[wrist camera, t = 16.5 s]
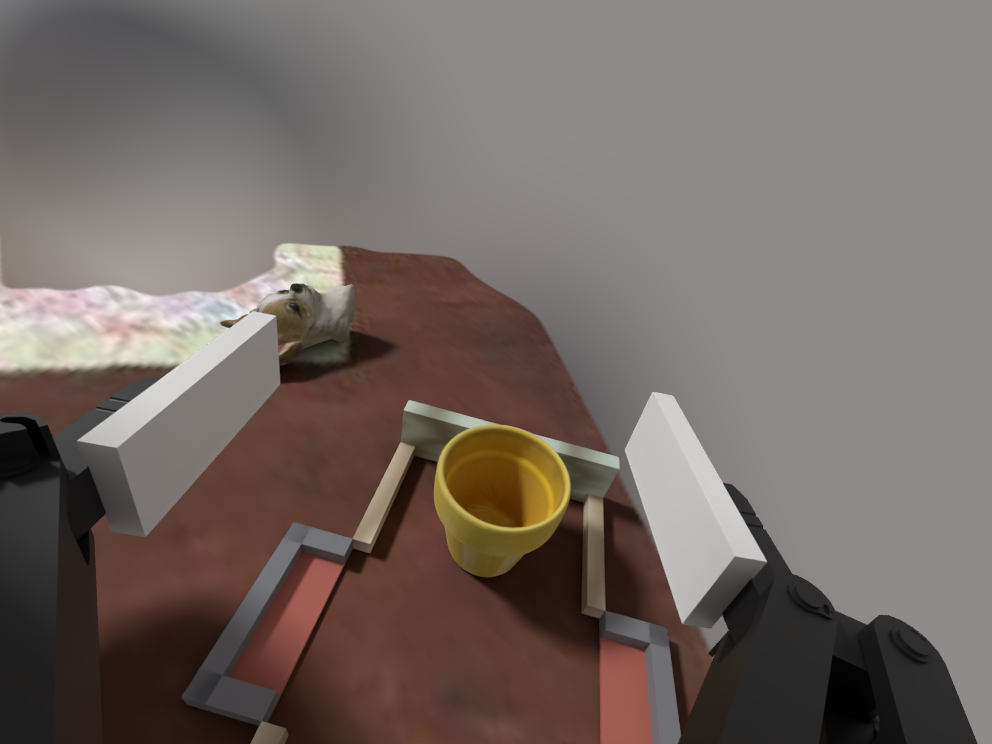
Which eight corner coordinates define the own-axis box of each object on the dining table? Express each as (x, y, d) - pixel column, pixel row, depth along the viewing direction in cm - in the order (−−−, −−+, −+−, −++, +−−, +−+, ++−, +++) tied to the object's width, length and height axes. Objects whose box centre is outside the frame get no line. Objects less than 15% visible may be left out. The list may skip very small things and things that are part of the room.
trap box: (159, 943, 20) (114, 949, 16) (405, 441, 46) (408, 400, 42) (604, 1083, 19) (660, 1122, 16) (597, 494, 45) (618, 457, 41)
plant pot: (457, 475, 43) (472, 405, 38) (553, 519, 42) (585, 453, 36) (402, 564, 35) (410, 492, 29) (518, 623, 34) (552, 560, 28)
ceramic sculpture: (372, 293, 51) (230, 325, 43) (375, 351, 56) (249, 389, 48) (335, 255, 57) (204, 277, 48) (341, 311, 62) (225, 339, 54)
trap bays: (187, 704, 26) (181, 697, 25) (295, 532, 36) (293, 522, 35) (683, 852, 25) (695, 850, 24) (658, 635, 35) (666, 627, 34)
